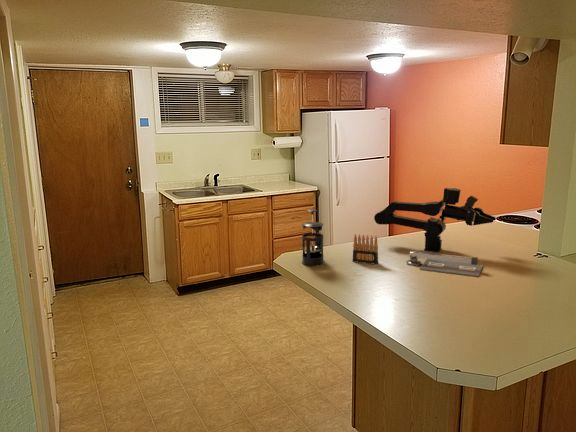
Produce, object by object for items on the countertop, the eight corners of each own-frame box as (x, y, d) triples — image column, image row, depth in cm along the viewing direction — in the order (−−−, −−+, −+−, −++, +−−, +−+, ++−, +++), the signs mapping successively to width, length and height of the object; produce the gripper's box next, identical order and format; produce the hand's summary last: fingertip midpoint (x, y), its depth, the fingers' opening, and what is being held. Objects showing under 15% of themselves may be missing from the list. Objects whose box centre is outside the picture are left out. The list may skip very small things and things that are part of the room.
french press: (317, 267, 193) (317, 213, 188) (297, 264, 198) (296, 211, 193) (329, 259, 203) (328, 207, 198) (309, 257, 208) (308, 206, 203)
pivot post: (404, 264, 194) (404, 258, 194) (408, 260, 199) (408, 254, 199) (419, 266, 191) (419, 260, 191) (422, 262, 197) (422, 256, 196)
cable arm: (408, 257, 194) (408, 252, 194) (410, 255, 197) (410, 250, 197) (476, 265, 182) (476, 259, 182) (477, 262, 185) (477, 257, 185)
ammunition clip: (352, 261, 200) (352, 234, 198) (353, 260, 202) (353, 233, 200) (377, 264, 196) (377, 236, 193) (378, 262, 198) (378, 235, 195)
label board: (419, 269, 188) (419, 267, 187) (427, 260, 200) (427, 258, 199) (478, 277, 177) (478, 275, 177) (482, 266, 190) (482, 264, 189)
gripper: (456, 196, 197) (495, 202, 189) (463, 193, 213) (500, 199, 205) (451, 221, 199) (490, 229, 191) (459, 217, 215) (495, 224, 207)
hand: (494, 220), depth 199 cm, fingers open, 9 cm apart
